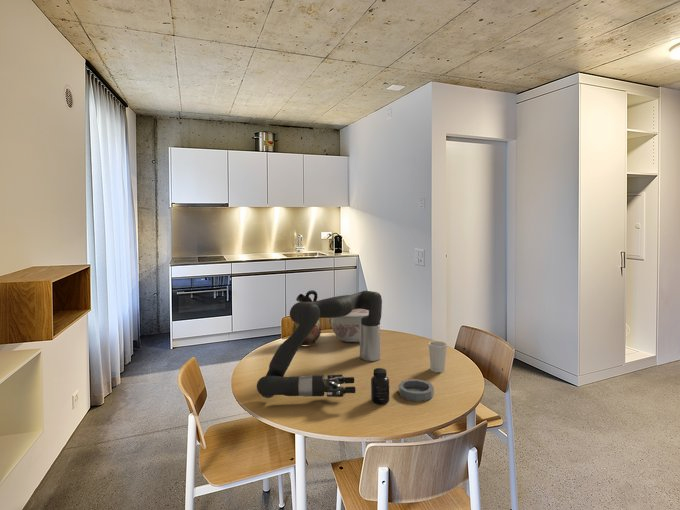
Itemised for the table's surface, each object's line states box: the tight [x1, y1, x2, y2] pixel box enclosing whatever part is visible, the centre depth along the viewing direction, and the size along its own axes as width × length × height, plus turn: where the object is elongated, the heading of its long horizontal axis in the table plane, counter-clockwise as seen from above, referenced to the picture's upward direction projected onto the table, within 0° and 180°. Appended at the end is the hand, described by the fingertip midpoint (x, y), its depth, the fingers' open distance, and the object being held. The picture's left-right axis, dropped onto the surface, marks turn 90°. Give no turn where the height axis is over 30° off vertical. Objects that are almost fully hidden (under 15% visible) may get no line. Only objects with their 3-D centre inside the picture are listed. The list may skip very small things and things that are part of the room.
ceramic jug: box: [292, 289, 322, 346], centre depth 215 cm, size 17×15×30 cm
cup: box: [428, 340, 448, 373], centre depth 177 cm, size 8×8×12 cm
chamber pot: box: [329, 309, 369, 343], centre depth 224 cm, size 28×28×21 cm
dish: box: [398, 378, 435, 402], centre depth 153 cm, size 13×13×3 cm
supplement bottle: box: [370, 367, 390, 406], centre depth 147 cm, size 7×7×12 cm
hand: (354, 384), depth 147 cm, fingers open, 8 cm apart
